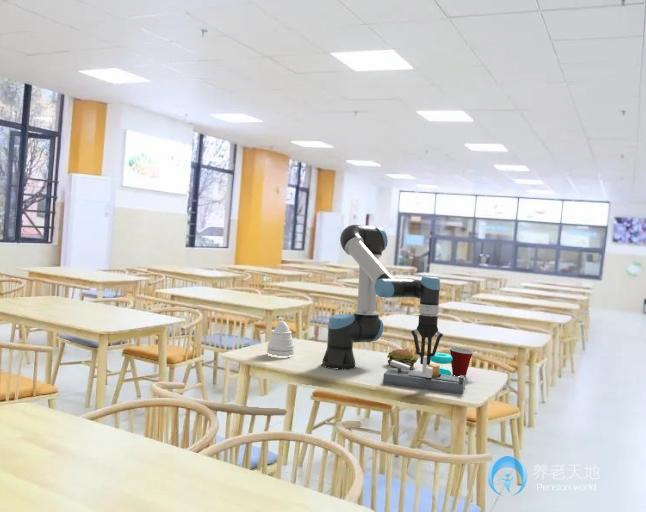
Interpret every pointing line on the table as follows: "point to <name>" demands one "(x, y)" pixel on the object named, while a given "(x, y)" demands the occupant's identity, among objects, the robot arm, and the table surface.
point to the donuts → (442, 361)
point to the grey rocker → (400, 365)
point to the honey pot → (281, 340)
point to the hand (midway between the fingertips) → (424, 372)
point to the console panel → (424, 380)
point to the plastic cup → (460, 360)
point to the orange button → (435, 369)
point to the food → (402, 357)
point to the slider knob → (429, 372)
